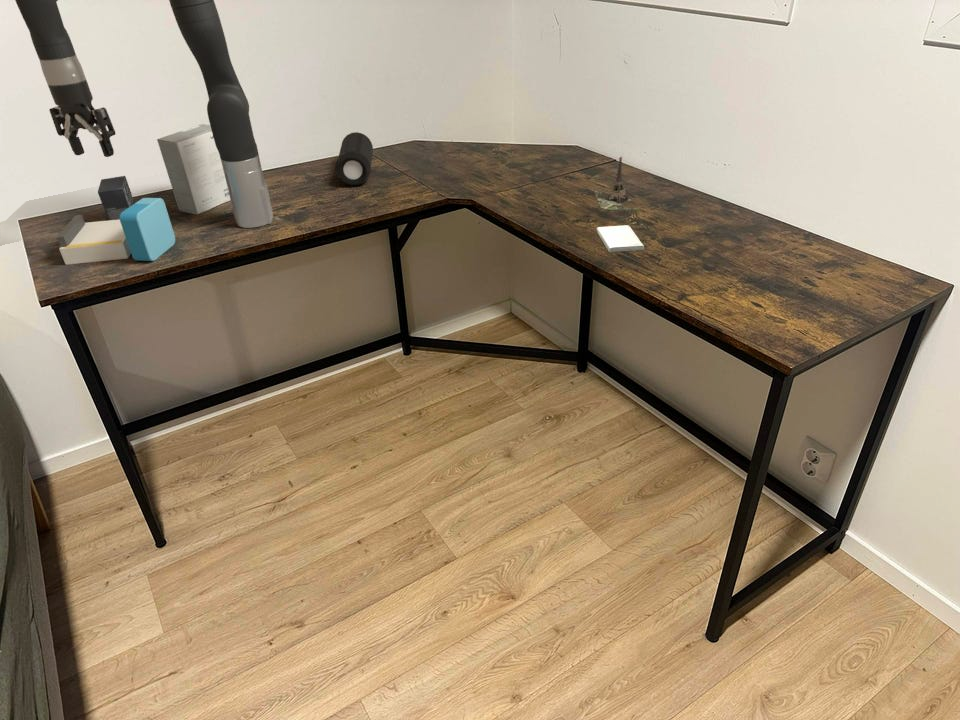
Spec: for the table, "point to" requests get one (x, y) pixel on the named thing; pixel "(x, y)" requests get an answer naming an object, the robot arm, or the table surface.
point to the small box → (115, 196)
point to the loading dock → (92, 241)
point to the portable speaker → (355, 159)
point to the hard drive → (619, 238)
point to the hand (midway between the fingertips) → (94, 155)
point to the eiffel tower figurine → (615, 194)
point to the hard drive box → (194, 169)
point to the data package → (147, 229)
